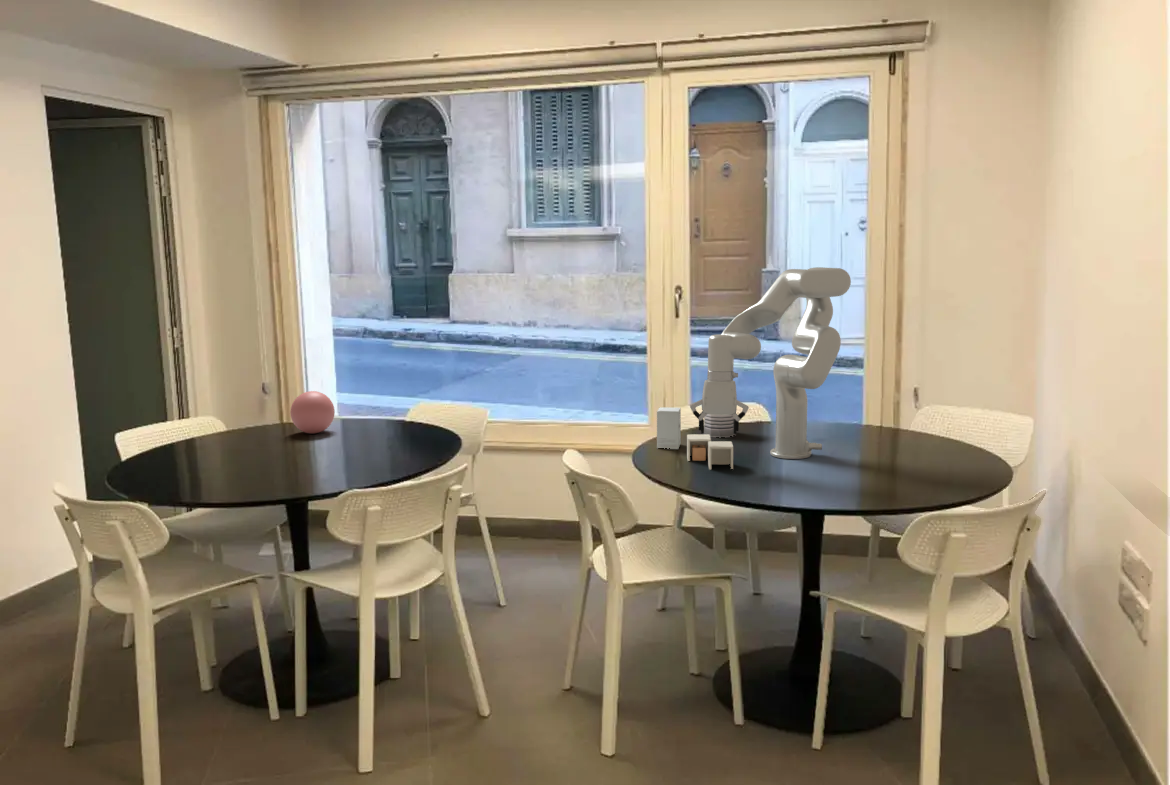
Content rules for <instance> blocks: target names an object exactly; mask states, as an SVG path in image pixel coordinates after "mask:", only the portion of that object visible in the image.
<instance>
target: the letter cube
mask: <svg viewBox="0 0 1170 785" xmlns="http://www.w3.org/2000/svg"><path fill="white" fill-rule="evenodd" d="M691 458H692V459H691V460H692V461H706V459H707V457H706V448H705V445H692V457H691Z"/></svg>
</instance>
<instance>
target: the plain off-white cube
mask: <svg viewBox="0 0 1170 785" xmlns="http://www.w3.org/2000/svg"><path fill="white" fill-rule="evenodd" d="M729 464H730V465H729ZM707 465H708V470H709V471H710V470H712V465H729V467H731V468H730V470H731V469H733V470H734V445H733V442H732V441H725V440H723V441H721V440H720V441H718V440H717V441H714V440H713V441H712V440H711V441H708V457H707Z"/></svg>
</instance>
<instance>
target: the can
mask: <svg viewBox="0 0 1170 785" xmlns="http://www.w3.org/2000/svg"><path fill="white" fill-rule="evenodd" d="M703 420H704V433H703V434H710V438H716V437H719V438H718V439H721V437H725V438H731V437H730V436H732V437H734V436H733V435H734V434H733V420H734V417H733V416H732V415H710V414H707V415H706V416H705V417H704V418H703Z"/></svg>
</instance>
